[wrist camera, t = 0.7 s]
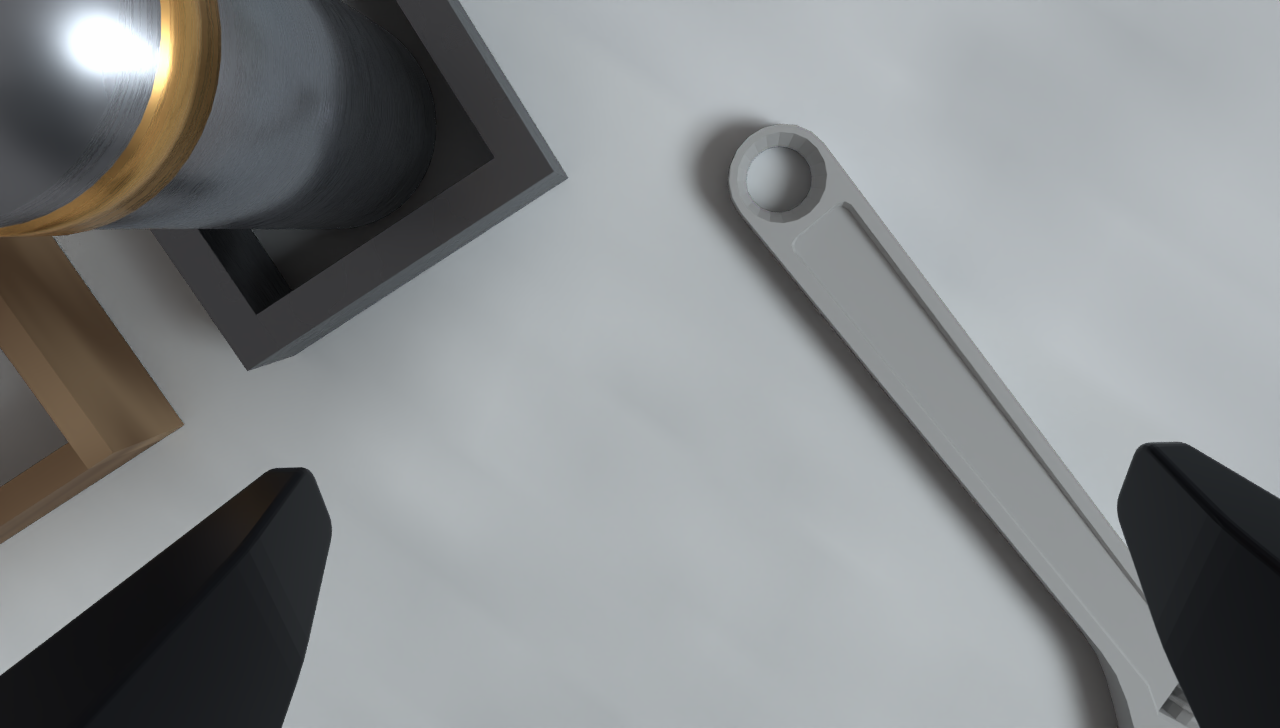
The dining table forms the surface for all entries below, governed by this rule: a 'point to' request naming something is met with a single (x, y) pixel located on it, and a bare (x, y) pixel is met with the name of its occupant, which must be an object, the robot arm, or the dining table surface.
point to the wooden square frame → (70, 380)
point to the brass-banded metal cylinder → (205, 116)
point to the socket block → (292, 320)
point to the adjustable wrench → (964, 416)
